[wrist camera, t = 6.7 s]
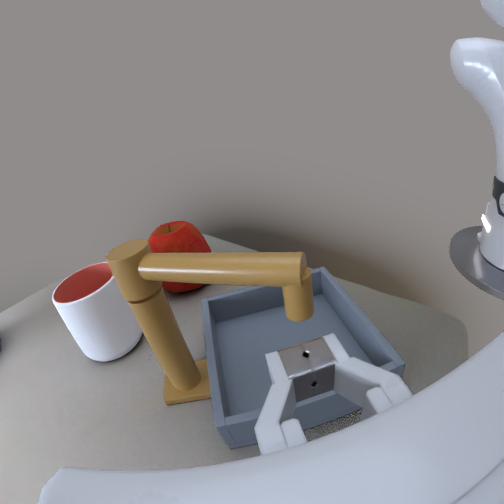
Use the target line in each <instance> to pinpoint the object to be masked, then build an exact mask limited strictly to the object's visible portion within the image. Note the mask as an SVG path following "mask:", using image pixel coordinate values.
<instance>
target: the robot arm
mask: <svg viewBox="0 0 504 504" xmlns="http://www.w3.org/2000/svg"><path fill="white" fill-rule="evenodd" d="M479 1H480V3H481V6H482V7H483V9H484V11H485V12H486V13H487V15H488V16H489V17H490V18H491V19H492V20H493V21H495V22H496V23H497V24H498V25H500V26H501V27H502V28H504V0H479ZM450 63H451V68H452V71H453V73H454V76H455V77H456V79H457V81H458V82H459V83H460V85H461V86H462V87H463V88H464V89H465V90H466V91H467V92H469V93H470V94H471V95H472V96H473V97H474V98H475V99H476V100H477V101H478V102H479V103H480V105H481V106H482V107H483V109H484V111H485V112H486V114H487V116H488V118H489V120H490V123H491V125H492V128H493V132H494V137H495V146H496V176H494V182H493V193H492V194H493V197H494V198H493V199H492V200H491V201H490V202H488V204H487V209H486V215H485V217H484V215H482V221H483V223H484V225H483V229H482V232H479V233H478V234H477V240H478V241H479V243H480V251H481V253H482V255H483V256H484V257H485V259H486V260H488V261H489V262H490V263H491V264H493V265H494V266H496V267H498V268H499V269H501V270H504V41H500V40H494V39H488V38H481V37H476V38H475V37H474V38H465V39H457V40H456V41H455V42H454V44H453V46H452V48H451V51H450ZM265 356H266V361H267V365H268V370H269V373H270V377H271V381H272V385H271V388H270V391H269V393H268V396H267V398H266V401H265V403H264V406H263V408H262V411H261V413H260V415H259V418H258V420H257V423H256V425H255V427H254V430H255V434H256V438H257V441H258V445H259V449H260V453H261V455H260V456H255V457H251V458H246V459H242V460H237V461H231V462H226V463H220V464H214V465H207V466H199V467H191V468H181V469H169V470H150V471H115V470H96V469H84V468H75V467H63V468H61V469H60V470H59V471H58V472H57V473H56V474H55V475H54V476H53V477H52V478H51V479H50V480H49V481H48V482H47V483H46V484H45V485H44V487H43V489H42V491H41V495H40V498H39V504H504V331H503V332H502V333H501V334H499V335H498V336H497V337H496V338H495V339H494V340H492V341H491V342H490V343H489V344H487V345H486V346H485V347H484V348H483V349H481V350H480V351H479V352H478V353H476V354H475V355H474V356H472V357H471V358H469V359H468V360H467V361H465V362H464V363H463V364H461V365H460V366H458V367H457V368H456V369H454V370H453V371H451V372H450V373H448V374H447V375H445V376H444V377H442V378H441V379H439V380H438V381H436V382H434V383H433V384H431V385H430V386H428V387H426V388H425V389H423V390H421V391H420V392H418V393H416V394H414V395H413V394H412V393H411V391H410V390H409V389H408V387H407V386H406V384H405V383H404V382H403V380H402V379H401V378H400V376H399V375H397V374H395V373H392V372H389V371H387V370H384V369H382V368H379V367H377V366H374V365H372V364H370V363H367V362H365V361H362V360H360V359H358V358H355V357H351V358H350V357H349V355H348V354H347V352H346V351H345V349H344V348H343V346H342V344H341V343H340V341H339V340H338V338H337V337H336V335H335V334H333V333H331V334H329V335H326V336H323V337H320V338H317V339H314V340H311V341H308V342H305V343H302V344H300V345H296V346H293V347H289V348H286V349H282V350H278V351H275V352H271V353H268V354H265ZM332 390H334V391H335V392H337V393H338V394H340V395H342V396H343V397H345V398H347V399H348V400H350V401H352V402H353V403H355V404H357V405H358V406H360V407H362V408H363V410H362V413H361V417H360V421H359V422H358V423H356V424H354V425H351V426H349V427H347V428H344V429H342V430H339V431H337V432H334V433H331V434H329V435H326V436H323V437H320V438H318V439H315V440H312V441H309V442H307V440H306V438H305V435H304V433H303V430H302V428H301V425H300V423H299V420H298V419H294V418H293V415H294V411H295V407H296V403H297V402H300V401H303V400H305V399H308V398H311V397H314V396H317V395H320V394H323V393H326V392H329V391H332ZM292 418H293V419H292Z"/></svg>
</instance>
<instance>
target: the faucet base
mask: <svg viewBox="0 0 504 504" xmlns="http://www.w3.org/2000/svg"><path fill="white" fill-rule="evenodd" d="M127 302H128V304H129V306H130V308H131V310H132V312H133V314H134V316H135V318H136V320H137V322H138V324H139V326H140V328H141V330H142V332H143V334H144V336H145V338H146V340H147V341H148V343H149V345H150V347H151V349H152V351H153V352H154V354H155V356H156V358H157V359H158V361H159V363H160V365H161V366H162V368H163V370H164V372H165V387H164V402H165V403H166V404H167V405H171V404H177V403H184V402H190V401H195V400H201V399H206V398H211V391H210V383H209V374H208V366H207V358H206V359H202V360H197V361H194V360H193V358H192V355H191V353H190V351H189V349H188V347H187V345H186V342H185V340H184V338H183V336H182V333H181V331H180V329H179V327H178V324H177V322H176V320H175V317H174V315H173V312H172V310H171V308H170V305H169V303H168V300H167V298H166V295H165V293H164V290H163V288H162V286H161V287H160V289H159V290H158V291H157V292H156V293H154V294H153V295H151V296H149V297H147V298H145V299H142V300H138V301H127Z"/></svg>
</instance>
